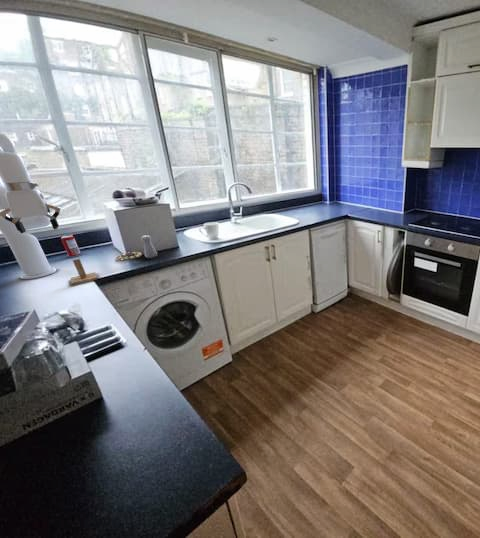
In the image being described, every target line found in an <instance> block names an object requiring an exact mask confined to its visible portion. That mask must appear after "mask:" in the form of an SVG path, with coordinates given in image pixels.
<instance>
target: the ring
mask: <svg viewBox="0 0 480 538" xmlns="http://www.w3.org/2000/svg"><path fill="white" fill-rule="evenodd" d="M131 252H132V253H131V254H130V255H127V254H126V253H127V252H126V253H122V254H119V255H117V256H116V257H115V260H116V261H117V262H124V261H126V262H127V261H132V260H134V259H138V258H141V257H142V256H143V254H142V252H140V251H131Z"/></svg>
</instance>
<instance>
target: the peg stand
mask: <svg viewBox="0 0 480 538" xmlns="http://www.w3.org/2000/svg"><path fill="white" fill-rule="evenodd" d="M72 262H73V264H74V267H75V269H76V272H77V274H78V275H75V276H72V277H70V284H71V286H72V287H73V286H77V285H80V284H85V283H89V282H93V281H97V280H99V279H98V276H97V273H96V271H95V272H90V273H86V270H85V268H84V266H83V263H82V261H81V259H80V258H74V259H72Z"/></svg>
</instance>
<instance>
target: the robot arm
mask: <svg viewBox="0 0 480 538" xmlns="http://www.w3.org/2000/svg"><path fill="white" fill-rule="evenodd" d="M16 148H17V147H16V145H15V143H14V141H13V139H11V137H9V136H8V135H7V134H5V133H2V132H0V210H2V211H0V233H1V235H3V237H4V239H5V240H6V241H7V244H8V246H9V248H10V250H11V252H12V253H13V256H14V258H15V260H16V262H17V264H18V266H19V267H20V269H21V272H22V274H20V275H19V277H20V279H22V280H32V279H38V278H43V277H46V276H48V275H49V276H50V275H51V274H54V273H56V272H57V267H53V266H52V267H51V265H50V263H49V261H48V259H47V257H46V254H45V252H44V249H43V248H42V246H41V244H40V242H39V239H38V238H37V237H36V236H35V235H33V234H31V233H29V232H27V231H28V230H34V229H39V228H40V229H41V228H45V227H48V226H50V225H51V226H52V229H53V230H57V229H58V228H59V227H60V225H59V222H58V220H57V218H58V216H59V215H60V213H61V209H62V207H60V206H58V205H54V204H50V203H48V202H47V199H46V198H45V197H44V195H43V193H42V192H41V190H40V189H39V188H37V187H40V184H39V183H38V182H34V181H33V180H32V178H31V175H30V173H29V171H28V169H27V167H26V163H25V161H24V159H23V157H22V156H21V155H20V154H19V153H17V149H16ZM36 188H37V189H36ZM51 209H52V210H54V213H52V210H51Z"/></svg>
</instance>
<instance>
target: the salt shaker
mask: <svg viewBox="0 0 480 538" xmlns="http://www.w3.org/2000/svg"><path fill="white" fill-rule="evenodd" d="M140 240H141V242H143V250H144V251H143V252H144V253H143V255H144V257H145V258H146V259H153V258H156V257H157V256H158V252H157V250H156V248H155V247H154V245H153V243H152V241H151V240H152V237H151V235H142V236H141V237H140Z"/></svg>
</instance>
